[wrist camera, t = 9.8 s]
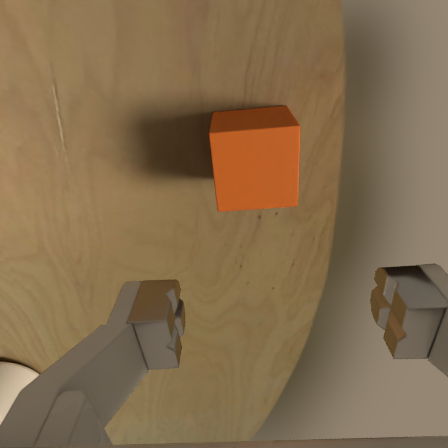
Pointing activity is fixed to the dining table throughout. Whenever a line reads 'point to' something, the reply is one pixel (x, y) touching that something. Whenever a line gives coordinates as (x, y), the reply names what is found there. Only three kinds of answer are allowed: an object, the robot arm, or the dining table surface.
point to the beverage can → (12, 384)
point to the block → (255, 158)
